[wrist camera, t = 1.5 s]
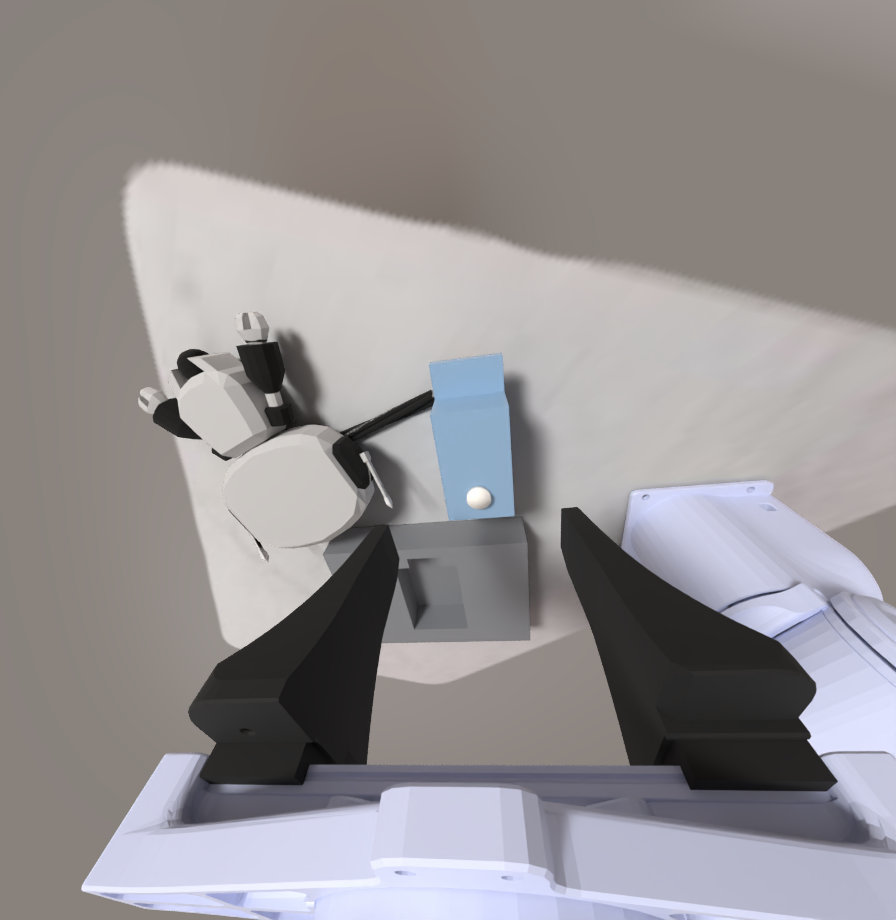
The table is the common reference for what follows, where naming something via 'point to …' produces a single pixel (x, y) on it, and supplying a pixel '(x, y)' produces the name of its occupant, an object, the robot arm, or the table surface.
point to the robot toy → (266, 444)
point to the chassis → (453, 580)
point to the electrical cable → (391, 416)
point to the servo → (473, 436)
